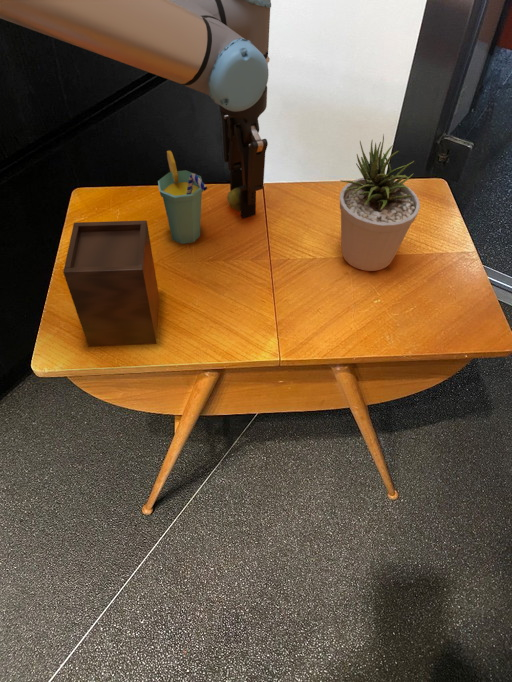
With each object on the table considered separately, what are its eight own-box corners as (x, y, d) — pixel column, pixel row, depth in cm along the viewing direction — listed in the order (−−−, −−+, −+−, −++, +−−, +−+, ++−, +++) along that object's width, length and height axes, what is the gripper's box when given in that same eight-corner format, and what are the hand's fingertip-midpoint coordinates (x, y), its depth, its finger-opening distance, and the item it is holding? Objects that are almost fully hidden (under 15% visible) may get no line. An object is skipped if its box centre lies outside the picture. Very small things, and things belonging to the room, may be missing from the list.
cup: (228, 250, 95) (226, 175, 83) (189, 267, 92) (182, 192, 80) (186, 209, 102) (179, 135, 91) (149, 224, 99) (137, 149, 88)
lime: (223, 208, 102) (223, 186, 98) (243, 198, 104) (243, 176, 100) (239, 220, 100) (239, 197, 96) (258, 210, 102) (259, 187, 98)
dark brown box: (88, 346, 81) (62, 272, 69) (95, 298, 87) (73, 222, 75) (156, 343, 81) (142, 269, 70) (159, 295, 88) (146, 220, 76)
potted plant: (417, 245, 97) (450, 142, 82) (384, 291, 89) (414, 186, 74) (353, 220, 101) (374, 117, 86) (317, 261, 94) (332, 156, 78)
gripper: (290, 103, 80) (281, 229, 98) (242, 57, 90) (242, 180, 108) (244, 113, 78) (243, 241, 96) (199, 65, 88) (207, 189, 106)
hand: (242, 208), depth 102 cm, fingers closed on lime, 4 cm apart
